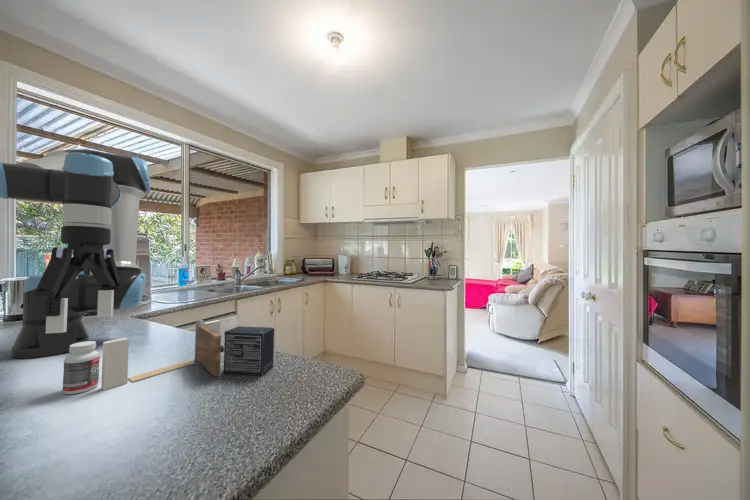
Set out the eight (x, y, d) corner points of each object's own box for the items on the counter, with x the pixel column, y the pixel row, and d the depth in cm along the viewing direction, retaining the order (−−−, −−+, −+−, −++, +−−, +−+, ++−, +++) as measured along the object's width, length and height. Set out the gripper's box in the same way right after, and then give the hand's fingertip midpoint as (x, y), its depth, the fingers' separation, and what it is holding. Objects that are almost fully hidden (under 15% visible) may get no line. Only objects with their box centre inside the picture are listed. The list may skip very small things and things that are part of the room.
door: (214, 376, 66) (215, 336, 66) (197, 360, 75) (198, 325, 76) (225, 373, 68) (226, 334, 68) (207, 358, 77) (208, 324, 77)
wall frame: (100, 387, 61) (101, 337, 61) (214, 353, 82) (216, 316, 83) (105, 391, 59) (106, 339, 60) (220, 355, 81) (221, 317, 81)
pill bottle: (98, 389, 60) (100, 344, 60) (60, 398, 56) (62, 349, 56) (99, 381, 64) (100, 338, 64) (64, 388, 60) (65, 343, 60)
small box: (274, 366, 74) (275, 326, 75) (262, 376, 68) (263, 333, 68) (237, 363, 76) (238, 324, 76) (222, 373, 69) (223, 331, 69)
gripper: (105, 230, 72) (102, 313, 71) (5, 217, 48) (-1, 342, 47) (140, 231, 74) (137, 312, 73) (60, 219, 50) (55, 339, 49)
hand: (83, 324), depth 60 cm, fingers open, 13 cm apart
